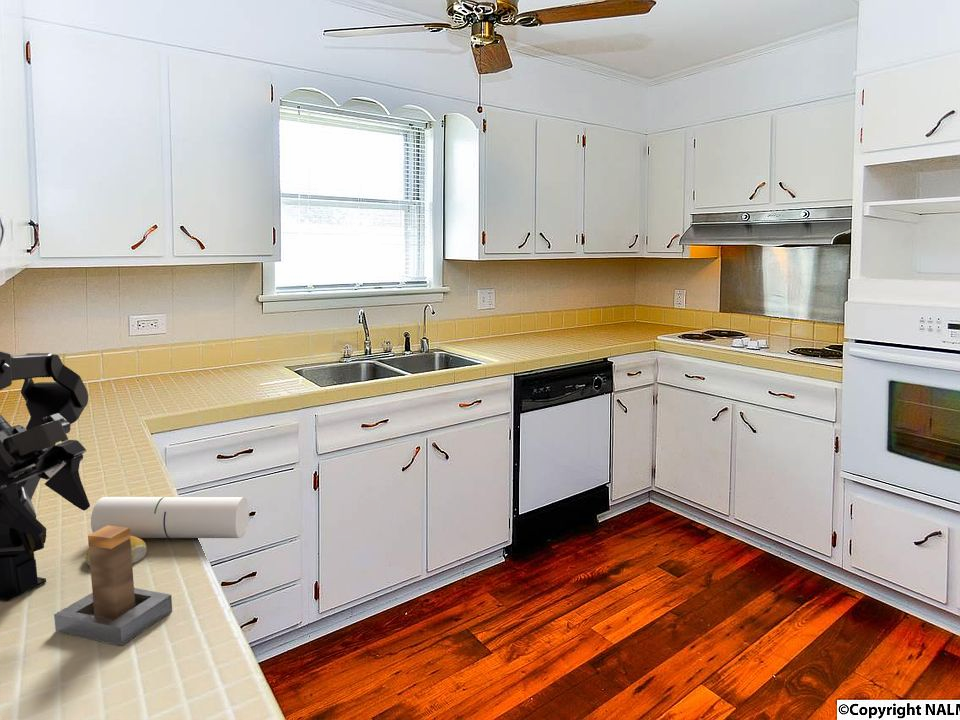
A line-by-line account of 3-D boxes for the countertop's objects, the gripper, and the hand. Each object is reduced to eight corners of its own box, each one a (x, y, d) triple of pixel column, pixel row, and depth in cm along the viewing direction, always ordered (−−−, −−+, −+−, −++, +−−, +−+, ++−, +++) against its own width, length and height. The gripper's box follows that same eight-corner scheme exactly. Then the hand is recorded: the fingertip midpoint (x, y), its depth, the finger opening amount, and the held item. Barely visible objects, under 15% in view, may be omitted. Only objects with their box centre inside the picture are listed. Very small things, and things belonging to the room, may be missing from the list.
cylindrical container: (88, 538, 115) (233, 538, 115) (94, 495, 117) (237, 496, 117) (109, 537, 122) (247, 538, 122) (115, 497, 124) (250, 498, 124)
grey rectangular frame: (55, 631, 89) (54, 614, 89) (110, 599, 98) (109, 583, 97) (121, 645, 86) (120, 627, 86) (172, 611, 94) (171, 594, 94)
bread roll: (113, 546, 116) (111, 524, 115) (155, 553, 114) (154, 531, 113) (72, 567, 108) (70, 543, 108) (117, 574, 106) (115, 550, 105)
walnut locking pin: (95, 626, 90) (87, 535, 88) (114, 613, 94) (107, 525, 92) (117, 629, 90) (110, 538, 88) (136, 616, 93) (129, 527, 91)
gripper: (-33, 415, 81) (54, 511, 82) (73, 386, 99) (143, 465, 100) (-90, 471, 83) (-3, 564, 84) (24, 432, 101) (94, 509, 102)
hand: (65, 520), depth 92 cm, fingers open, 9 cm apart
